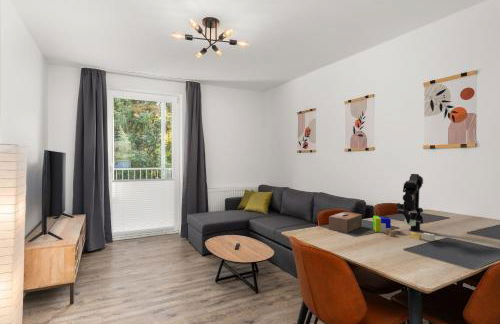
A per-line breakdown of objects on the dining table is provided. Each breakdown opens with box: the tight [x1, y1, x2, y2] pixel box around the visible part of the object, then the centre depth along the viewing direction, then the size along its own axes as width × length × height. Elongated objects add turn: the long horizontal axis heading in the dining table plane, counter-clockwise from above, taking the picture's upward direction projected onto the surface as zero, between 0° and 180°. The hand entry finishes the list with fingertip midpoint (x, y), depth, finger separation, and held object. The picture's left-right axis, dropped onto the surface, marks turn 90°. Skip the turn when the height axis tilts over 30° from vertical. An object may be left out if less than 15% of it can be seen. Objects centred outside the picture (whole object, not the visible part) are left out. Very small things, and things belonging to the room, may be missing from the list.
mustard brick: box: [409, 231, 423, 241], centre depth 193 cm, size 6×3×4 cm, turn 32°
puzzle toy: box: [372, 215, 392, 234], centre depth 213 cm, size 10×10×10 cm
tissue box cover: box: [328, 211, 363, 234], centre depth 221 cm, size 26×14×10 cm, turn 136°
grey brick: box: [422, 232, 436, 242], centre depth 192 cm, size 6×3×4 cm, turn 33°
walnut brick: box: [384, 229, 396, 237], centre depth 201 cm, size 6×3×4 cm, turn 11°
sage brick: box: [403, 218, 416, 227], centre depth 195 cm, size 6×3×4 cm, turn 26°
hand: (409, 223), depth 195 cm, fingers closed on sage brick, 3 cm apart
